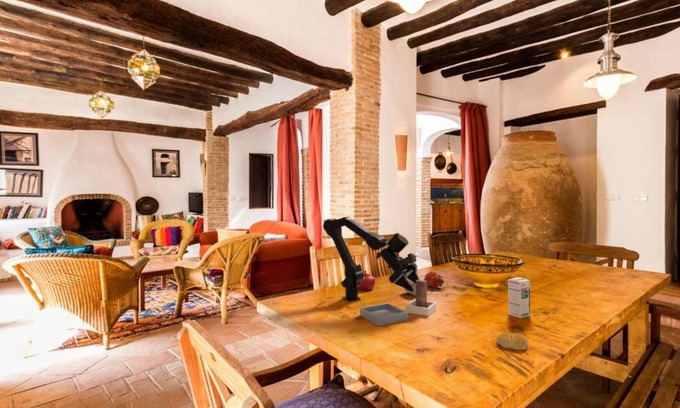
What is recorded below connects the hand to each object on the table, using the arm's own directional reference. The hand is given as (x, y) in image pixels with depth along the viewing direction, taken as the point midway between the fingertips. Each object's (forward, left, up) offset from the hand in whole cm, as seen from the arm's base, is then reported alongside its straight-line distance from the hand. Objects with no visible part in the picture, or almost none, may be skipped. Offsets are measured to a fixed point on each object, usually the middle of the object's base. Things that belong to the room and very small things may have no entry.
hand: (417, 288), depth 153 cm
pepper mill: (+2, +1, -9) cm, 9 cm away
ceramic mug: (-19, +15, -9) cm, 26 cm away
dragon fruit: (-24, +31, -9) cm, 41 cm away
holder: (+2, +1, -9) cm, 9 cm away
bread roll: (+42, +5, -10) cm, 43 cm away
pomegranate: (-39, -1, -9) cm, 41 cm away
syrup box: (+25, +31, -9) cm, 41 cm away
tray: (+1, -17, -9) cm, 19 cm away
